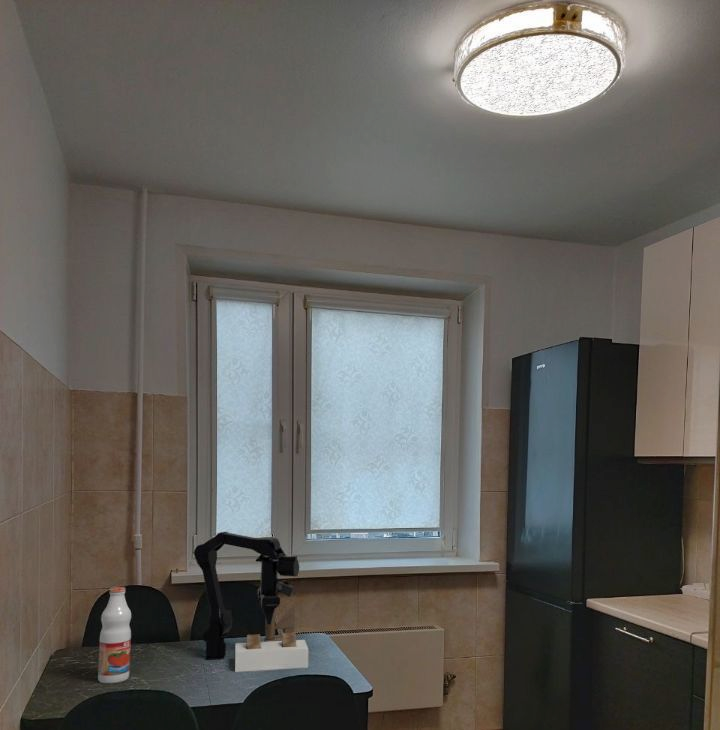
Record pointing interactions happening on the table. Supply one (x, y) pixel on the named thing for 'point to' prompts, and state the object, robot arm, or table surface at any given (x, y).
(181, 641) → the table surface
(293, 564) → the robot arm
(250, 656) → the white peg base
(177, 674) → the table surface
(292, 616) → the wooden block
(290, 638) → the right peg
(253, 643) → the left peg
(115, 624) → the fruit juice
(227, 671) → the table surface
